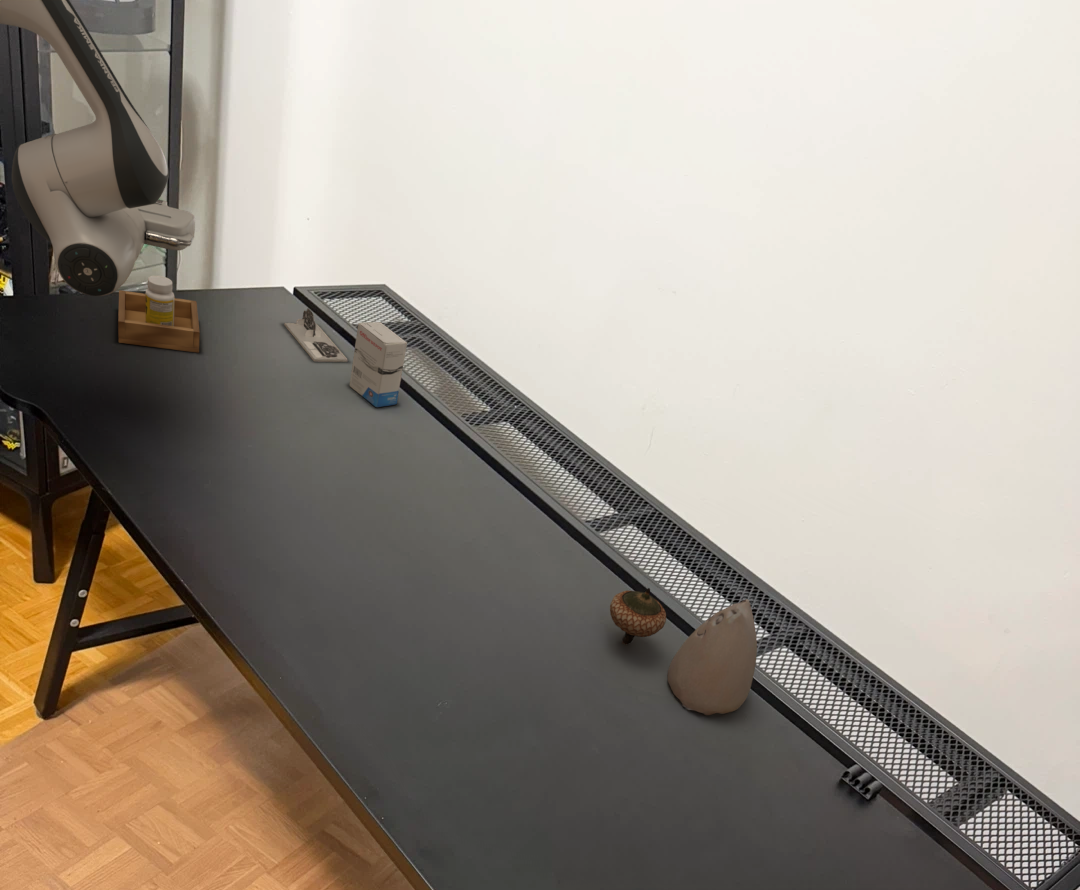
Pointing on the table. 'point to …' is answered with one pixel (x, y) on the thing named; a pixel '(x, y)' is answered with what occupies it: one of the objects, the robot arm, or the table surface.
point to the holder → (157, 335)
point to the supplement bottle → (159, 301)
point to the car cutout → (315, 340)
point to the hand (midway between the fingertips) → (128, 197)
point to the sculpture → (716, 662)
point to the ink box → (377, 364)
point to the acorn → (637, 614)
